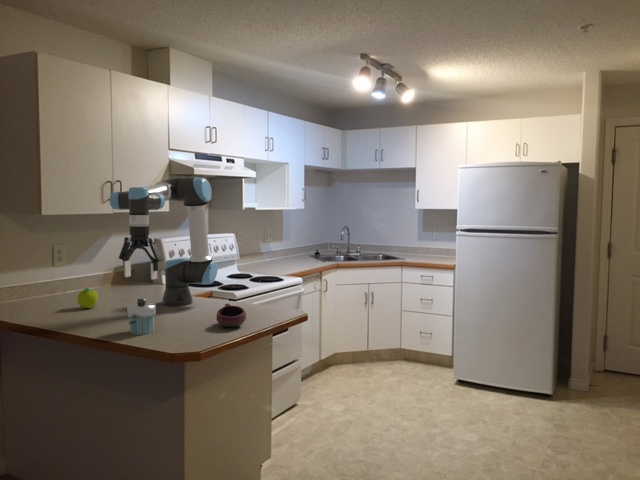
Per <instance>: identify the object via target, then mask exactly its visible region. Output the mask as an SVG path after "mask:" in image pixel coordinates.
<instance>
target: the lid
mask: <svg viewBox="0 0 640 480" xmlns="http://www.w3.org/2000/svg"><path fill="white" fill-rule="evenodd" d="M146 299H147V298H144V297H143V298H137V302H135V303H134V302H133V303H129V304H128V305H127V306H126V307H127V309H126V310H127V314H126V315H127V317H128V318H129V317H131V318H145V317H151V316H154V317H155V316H156V314H157V311H156V310H157V304H156V303H154V302H147V301H146Z"/></svg>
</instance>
